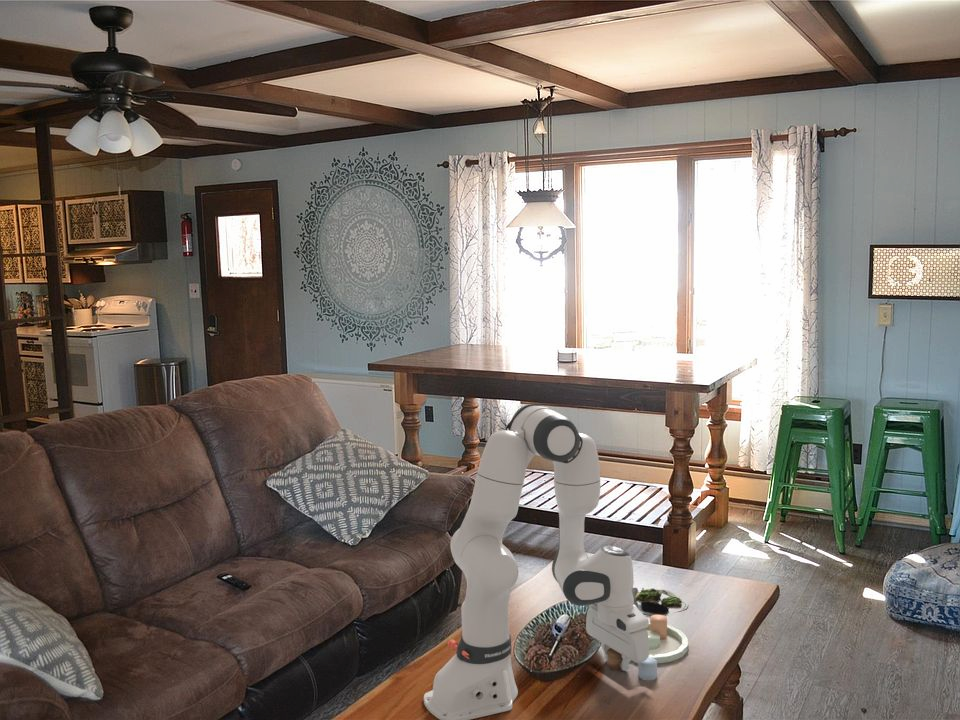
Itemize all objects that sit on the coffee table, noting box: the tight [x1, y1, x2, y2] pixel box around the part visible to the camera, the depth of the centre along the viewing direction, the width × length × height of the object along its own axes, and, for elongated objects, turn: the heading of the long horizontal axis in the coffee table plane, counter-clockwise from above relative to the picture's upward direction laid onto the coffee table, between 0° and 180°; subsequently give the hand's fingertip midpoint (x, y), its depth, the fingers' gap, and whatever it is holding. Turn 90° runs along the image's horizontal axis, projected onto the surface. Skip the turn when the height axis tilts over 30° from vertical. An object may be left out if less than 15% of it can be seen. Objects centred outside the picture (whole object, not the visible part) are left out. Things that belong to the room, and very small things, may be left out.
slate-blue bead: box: [637, 657, 658, 682], centre depth 204 cm, size 4×4×5 cm
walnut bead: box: [606, 648, 623, 671], centre depth 210 cm, size 4×4×5 cm
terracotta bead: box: [649, 615, 668, 640], centre depth 224 cm, size 4×4×5 cm
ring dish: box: [630, 621, 689, 664], centre depth 220 cm, size 20×20×4 cm
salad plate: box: [632, 587, 689, 617], centre depth 247 cm, size 19×18×5 cm
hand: (616, 664), depth 210 cm, fingers closed on walnut bead, 4 cm apart
